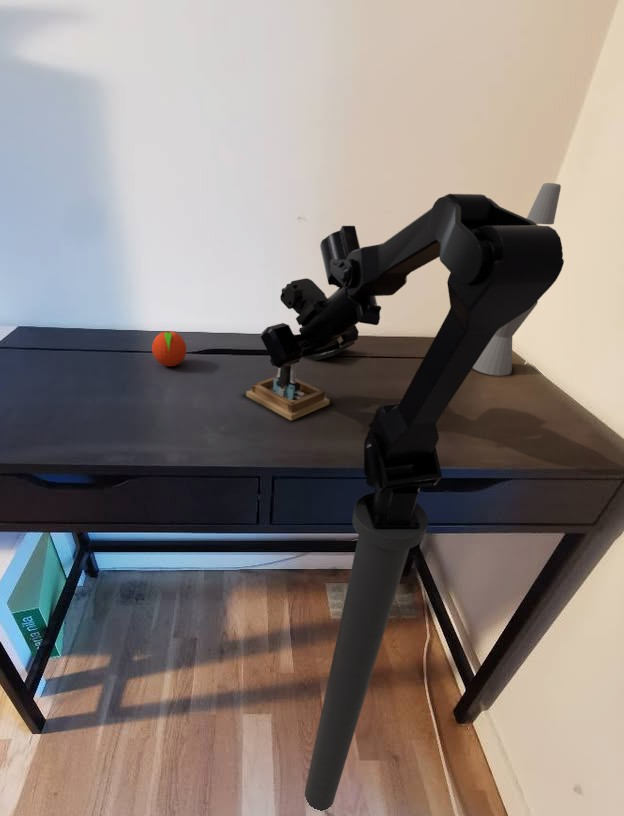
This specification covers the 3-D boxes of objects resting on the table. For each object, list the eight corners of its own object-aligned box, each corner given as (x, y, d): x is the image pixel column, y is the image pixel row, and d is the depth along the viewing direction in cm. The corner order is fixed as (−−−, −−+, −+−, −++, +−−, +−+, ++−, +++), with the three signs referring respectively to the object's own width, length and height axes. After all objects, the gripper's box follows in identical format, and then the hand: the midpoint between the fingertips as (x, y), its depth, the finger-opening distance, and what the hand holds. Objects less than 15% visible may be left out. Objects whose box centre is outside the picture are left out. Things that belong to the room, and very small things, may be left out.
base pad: (329, 404, 91) (331, 392, 89) (291, 421, 85) (292, 408, 83) (284, 382, 97) (285, 370, 96) (246, 396, 92) (246, 384, 90)
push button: (311, 397, 90) (316, 344, 84) (292, 406, 87) (297, 352, 81) (283, 385, 94) (287, 334, 88) (265, 394, 91) (267, 342, 85)
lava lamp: (493, 357, 113) (552, 181, 92) (521, 373, 106) (592, 186, 85) (461, 361, 110) (514, 180, 90) (487, 377, 104) (551, 186, 83)
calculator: (309, 340, 117) (310, 328, 115) (353, 353, 112) (355, 340, 110) (288, 351, 111) (289, 338, 109) (333, 365, 105) (334, 352, 104)
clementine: (188, 373, 99) (186, 339, 95) (153, 374, 98) (149, 339, 94) (186, 358, 105) (184, 325, 101) (153, 359, 104) (150, 325, 100)
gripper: (355, 258, 80) (301, 309, 93) (272, 273, 69) (224, 328, 82) (385, 319, 80) (327, 362, 93) (307, 343, 69) (253, 388, 82)
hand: (285, 358), depth 87 cm, fingers open, 6 cm apart
